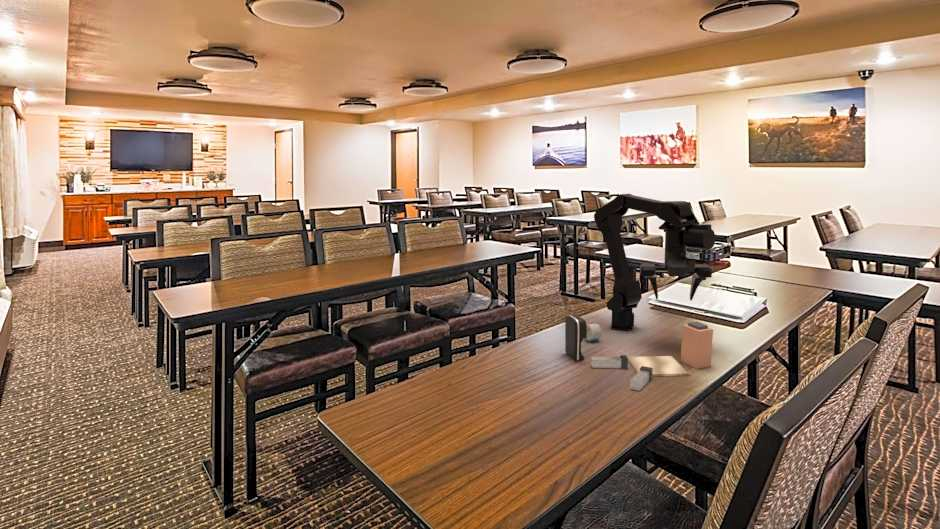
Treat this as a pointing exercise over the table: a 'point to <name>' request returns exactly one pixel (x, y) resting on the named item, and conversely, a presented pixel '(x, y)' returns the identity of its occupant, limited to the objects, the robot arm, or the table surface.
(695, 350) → the peach upright block
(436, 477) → the table surface
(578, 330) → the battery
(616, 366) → the shaft side
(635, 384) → the shaft front
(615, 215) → the robot arm
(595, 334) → the electric motor
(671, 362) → the pad
